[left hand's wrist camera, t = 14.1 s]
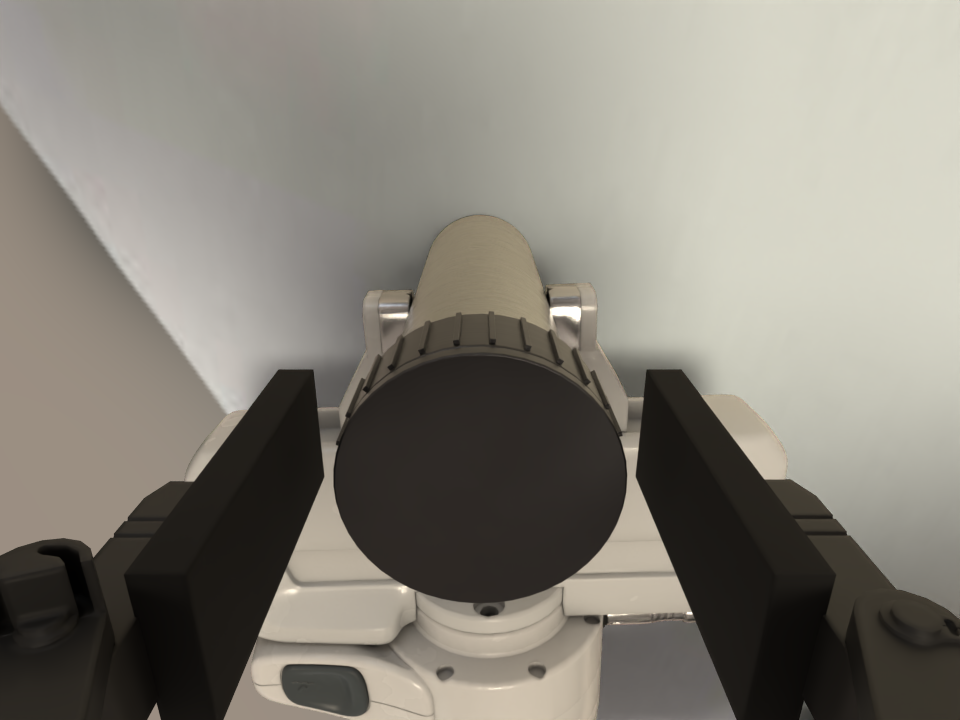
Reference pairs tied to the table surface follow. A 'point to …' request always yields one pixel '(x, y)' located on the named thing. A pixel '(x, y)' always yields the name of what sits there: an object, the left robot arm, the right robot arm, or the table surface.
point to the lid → (480, 460)
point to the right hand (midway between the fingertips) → (477, 290)
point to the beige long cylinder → (480, 275)
